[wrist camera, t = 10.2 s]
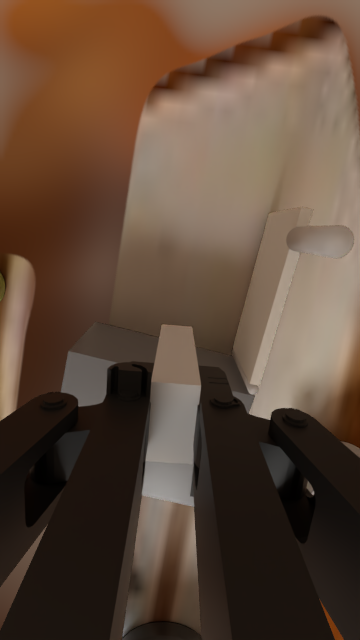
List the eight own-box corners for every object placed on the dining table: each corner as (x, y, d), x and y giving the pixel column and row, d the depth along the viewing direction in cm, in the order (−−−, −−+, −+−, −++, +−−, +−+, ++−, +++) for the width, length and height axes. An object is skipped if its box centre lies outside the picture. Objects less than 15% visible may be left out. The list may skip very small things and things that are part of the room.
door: (226, 353, 40) (259, 437, 24) (264, 212, 36) (335, 196, 20) (242, 356, 40) (285, 442, 24) (282, 216, 36) (367, 204, 20)
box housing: (206, 450, 44) (213, 510, 35) (75, 420, 43) (45, 474, 34) (237, 357, 41) (254, 396, 31) (95, 321, 40) (68, 350, 30)
